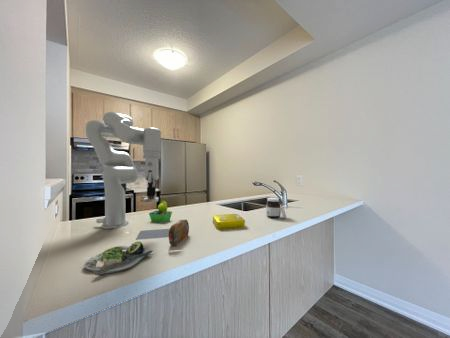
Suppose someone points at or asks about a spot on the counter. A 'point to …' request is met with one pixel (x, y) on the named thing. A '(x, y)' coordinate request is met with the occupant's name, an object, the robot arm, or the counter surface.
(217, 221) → the element tile
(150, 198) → the wood block on base
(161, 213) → the fruit basket
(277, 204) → the spread jar
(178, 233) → the tin
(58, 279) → the counter surface
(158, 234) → the mat
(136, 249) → the salad plate
